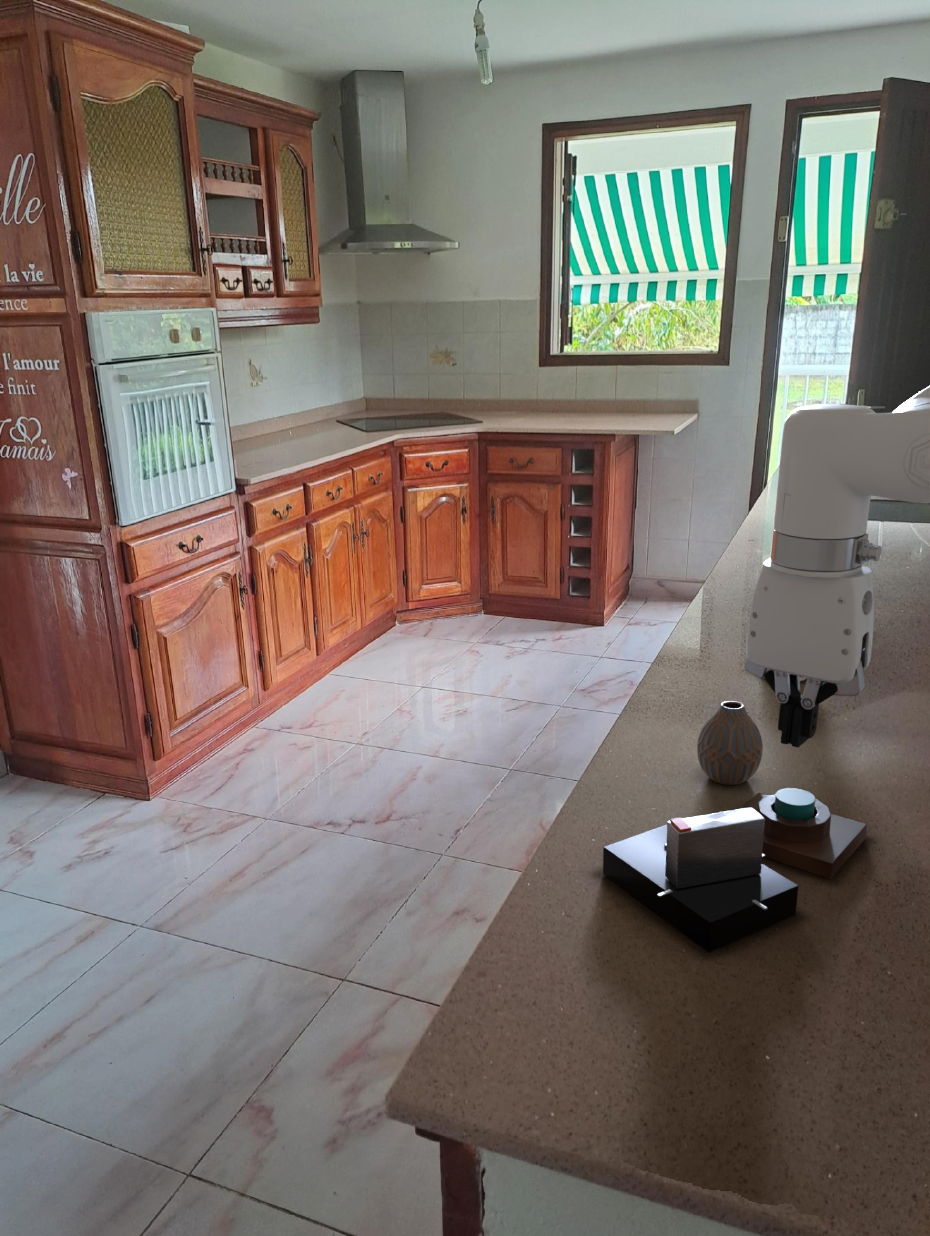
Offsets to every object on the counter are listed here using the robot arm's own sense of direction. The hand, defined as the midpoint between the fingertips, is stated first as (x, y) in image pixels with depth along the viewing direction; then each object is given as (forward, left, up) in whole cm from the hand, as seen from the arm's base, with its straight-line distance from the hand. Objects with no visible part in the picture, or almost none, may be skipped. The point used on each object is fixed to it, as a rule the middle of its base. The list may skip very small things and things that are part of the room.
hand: (795, 740), depth 91 cm
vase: (+11, -9, -11) cm, 18 cm away
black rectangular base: (+3, +14, -11) cm, 18 cm away
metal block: (+1, +15, -8) cm, 16 cm away
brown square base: (0, 0, -11) cm, 11 cm away
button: (0, 0, -8) cm, 8 cm away
